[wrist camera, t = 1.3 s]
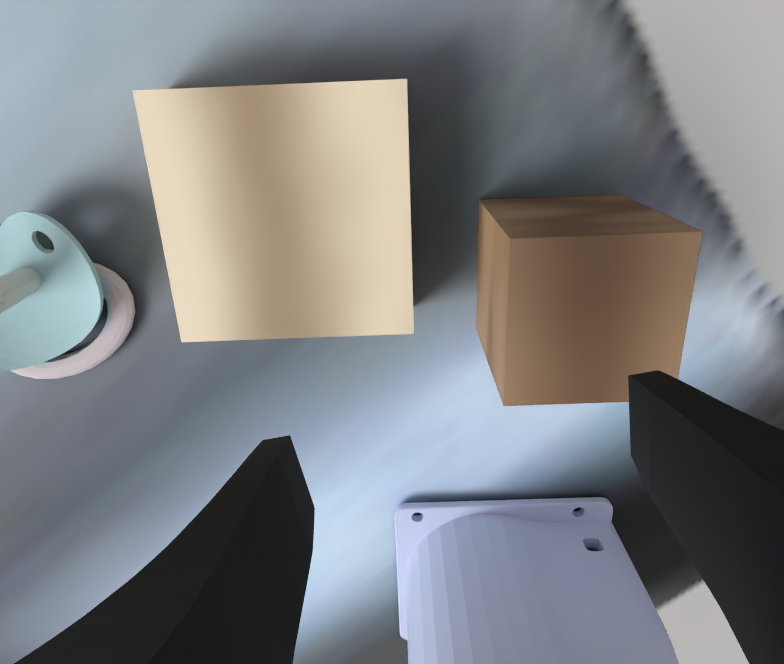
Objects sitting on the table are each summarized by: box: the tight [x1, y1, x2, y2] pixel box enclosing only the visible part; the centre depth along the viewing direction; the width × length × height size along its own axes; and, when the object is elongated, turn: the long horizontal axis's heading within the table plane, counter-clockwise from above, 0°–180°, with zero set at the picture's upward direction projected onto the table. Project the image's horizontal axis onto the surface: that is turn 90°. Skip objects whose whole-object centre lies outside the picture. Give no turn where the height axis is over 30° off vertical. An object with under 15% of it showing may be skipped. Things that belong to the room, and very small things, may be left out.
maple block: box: [133, 79, 414, 342], centre depth 20 cm, size 8×8×3 cm
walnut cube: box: [476, 194, 702, 406], centre depth 19 cm, size 5×5×6 cm
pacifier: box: [0, 211, 135, 379], centre depth 19 cm, size 7×6×6 cm
